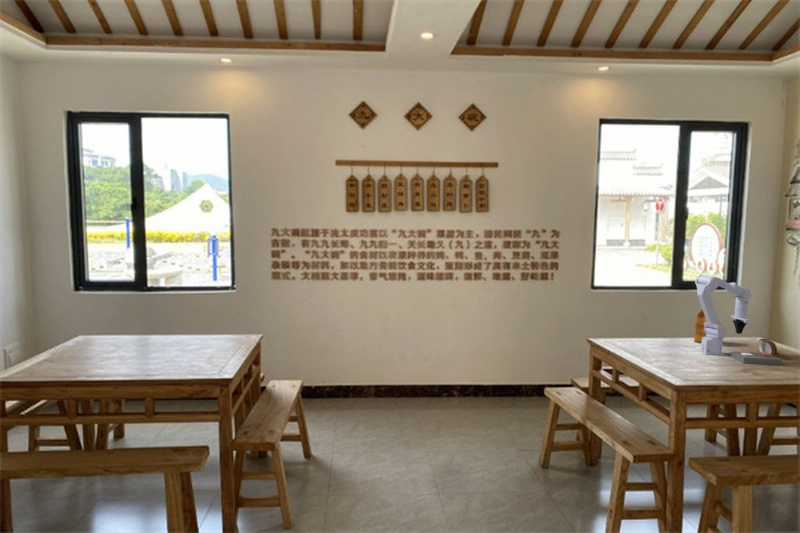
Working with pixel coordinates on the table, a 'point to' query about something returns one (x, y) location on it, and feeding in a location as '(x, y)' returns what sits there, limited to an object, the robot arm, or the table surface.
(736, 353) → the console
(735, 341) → the table surface
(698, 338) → the coffee package
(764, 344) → the tin
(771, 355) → the red button
